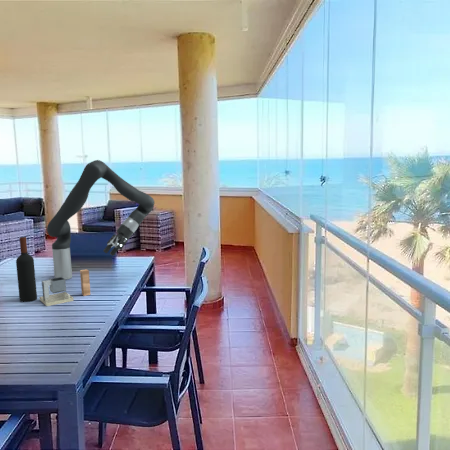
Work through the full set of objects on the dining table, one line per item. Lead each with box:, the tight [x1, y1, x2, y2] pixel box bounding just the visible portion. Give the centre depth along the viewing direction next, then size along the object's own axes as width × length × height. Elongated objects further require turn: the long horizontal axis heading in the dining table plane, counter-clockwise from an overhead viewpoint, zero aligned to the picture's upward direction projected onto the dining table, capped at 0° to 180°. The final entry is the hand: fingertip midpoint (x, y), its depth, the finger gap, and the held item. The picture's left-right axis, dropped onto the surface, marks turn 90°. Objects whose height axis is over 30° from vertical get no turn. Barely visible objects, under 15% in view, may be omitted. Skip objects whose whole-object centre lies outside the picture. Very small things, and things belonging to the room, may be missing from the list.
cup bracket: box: [39, 277, 74, 307], centre depth 200 cm, size 12×12×10 cm
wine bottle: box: [15, 236, 38, 303], centre depth 201 cm, size 8×8×30 cm
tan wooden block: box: [79, 269, 91, 297], centre depth 208 cm, size 3×3×12 cm
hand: (108, 253), depth 214 cm, fingers open, 8 cm apart
